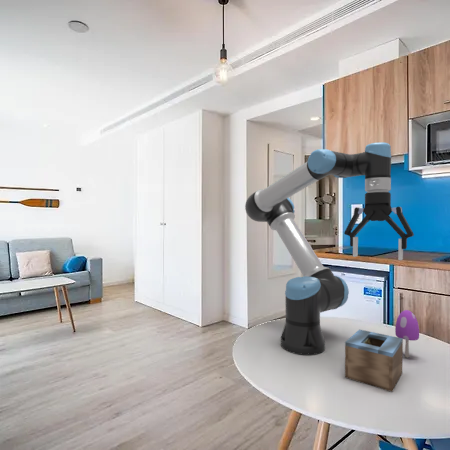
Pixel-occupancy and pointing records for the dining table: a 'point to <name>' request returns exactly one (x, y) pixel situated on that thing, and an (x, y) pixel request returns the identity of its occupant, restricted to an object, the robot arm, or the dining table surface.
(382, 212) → the robot arm
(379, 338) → the coin box
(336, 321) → the dining table surface
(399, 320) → the toy
